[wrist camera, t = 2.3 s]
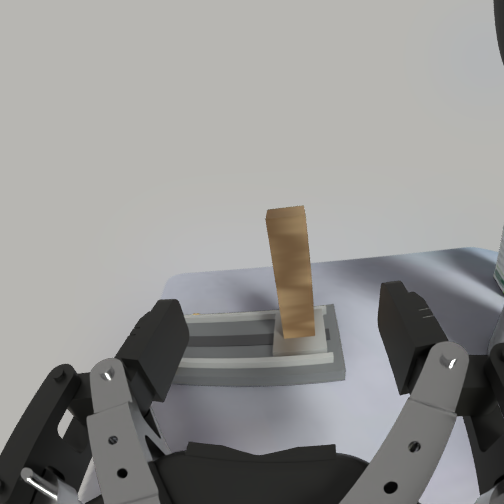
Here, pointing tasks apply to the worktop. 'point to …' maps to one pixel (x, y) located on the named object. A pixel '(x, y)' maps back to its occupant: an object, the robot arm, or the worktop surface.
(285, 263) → the fader tab
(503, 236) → the syrup box
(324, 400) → the worktop surface
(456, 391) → the robot arm
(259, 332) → the grey slider track base
